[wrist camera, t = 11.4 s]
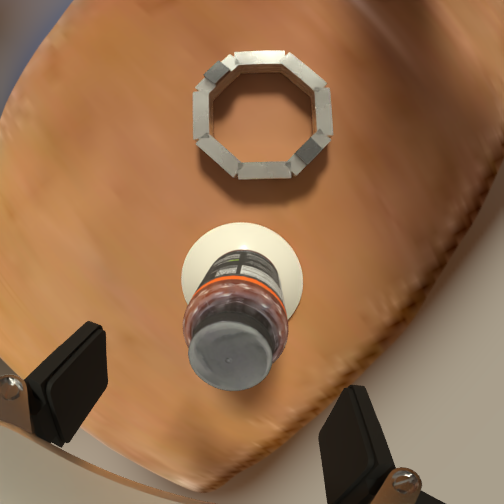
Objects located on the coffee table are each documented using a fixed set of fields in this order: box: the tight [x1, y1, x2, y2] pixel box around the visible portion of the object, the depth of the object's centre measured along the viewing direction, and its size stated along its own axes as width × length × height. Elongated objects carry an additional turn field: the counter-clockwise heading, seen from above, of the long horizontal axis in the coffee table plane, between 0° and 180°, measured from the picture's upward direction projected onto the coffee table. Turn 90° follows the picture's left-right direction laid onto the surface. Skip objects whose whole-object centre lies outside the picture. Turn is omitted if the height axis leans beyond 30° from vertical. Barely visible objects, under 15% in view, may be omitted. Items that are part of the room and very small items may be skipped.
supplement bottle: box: [183, 249, 288, 391], centre depth 19 cm, size 6×6×11 cm
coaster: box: [181, 222, 303, 319], centre depth 24 cm, size 10×10×1 cm
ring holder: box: [193, 51, 333, 180], centre depth 20 cm, size 10×10×3 cm
